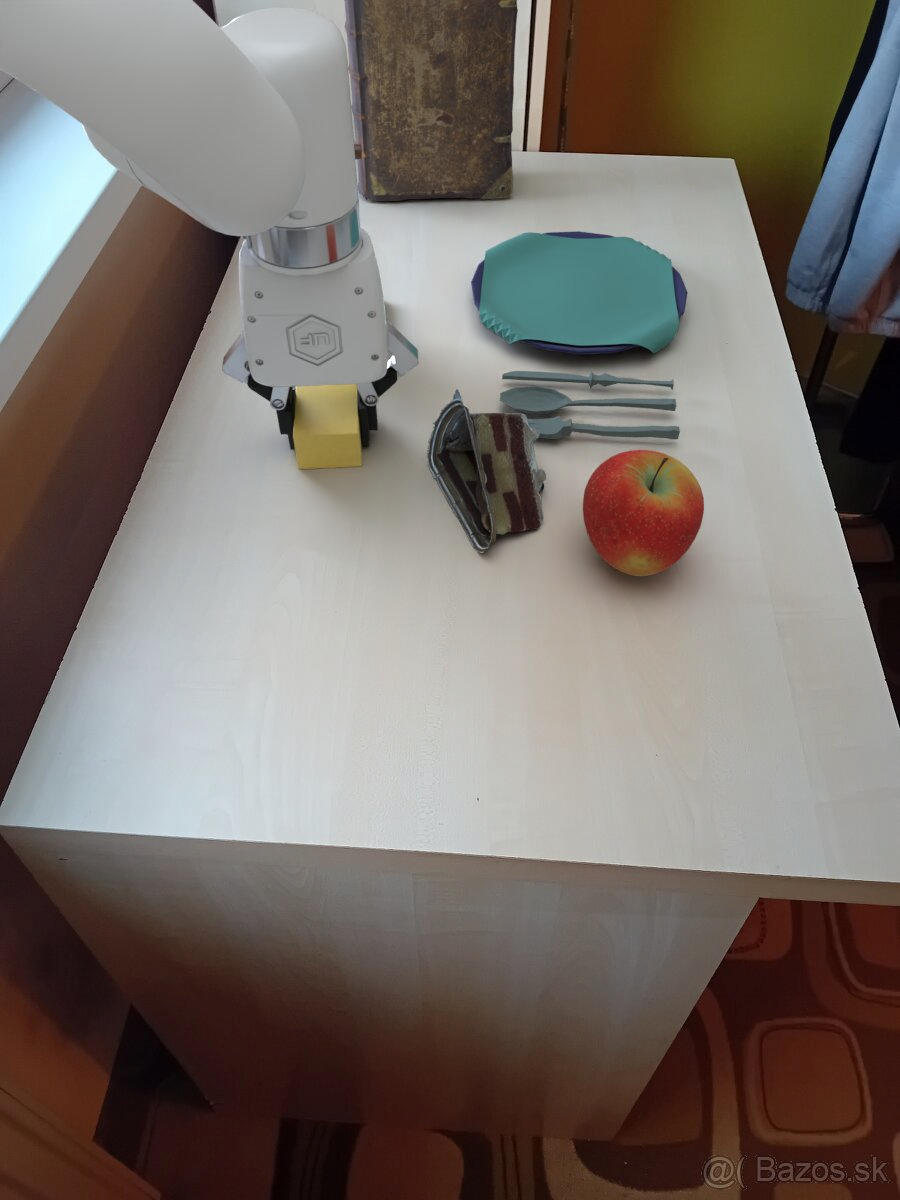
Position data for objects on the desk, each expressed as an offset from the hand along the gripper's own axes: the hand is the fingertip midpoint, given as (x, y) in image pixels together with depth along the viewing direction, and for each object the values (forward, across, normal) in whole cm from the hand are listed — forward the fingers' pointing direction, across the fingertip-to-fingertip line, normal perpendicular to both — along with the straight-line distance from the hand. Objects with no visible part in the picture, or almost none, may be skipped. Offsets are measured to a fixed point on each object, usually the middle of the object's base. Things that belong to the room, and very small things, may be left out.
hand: (330, 434), depth 78 cm
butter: (0, 0, 0) cm, 0 cm away
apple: (+1, +22, -14) cm, 26 cm away
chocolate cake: (+1, +13, -8) cm, 15 cm away
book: (+1, +11, +41) cm, 42 cm away
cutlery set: (+1, +22, +12) cm, 25 cm away
